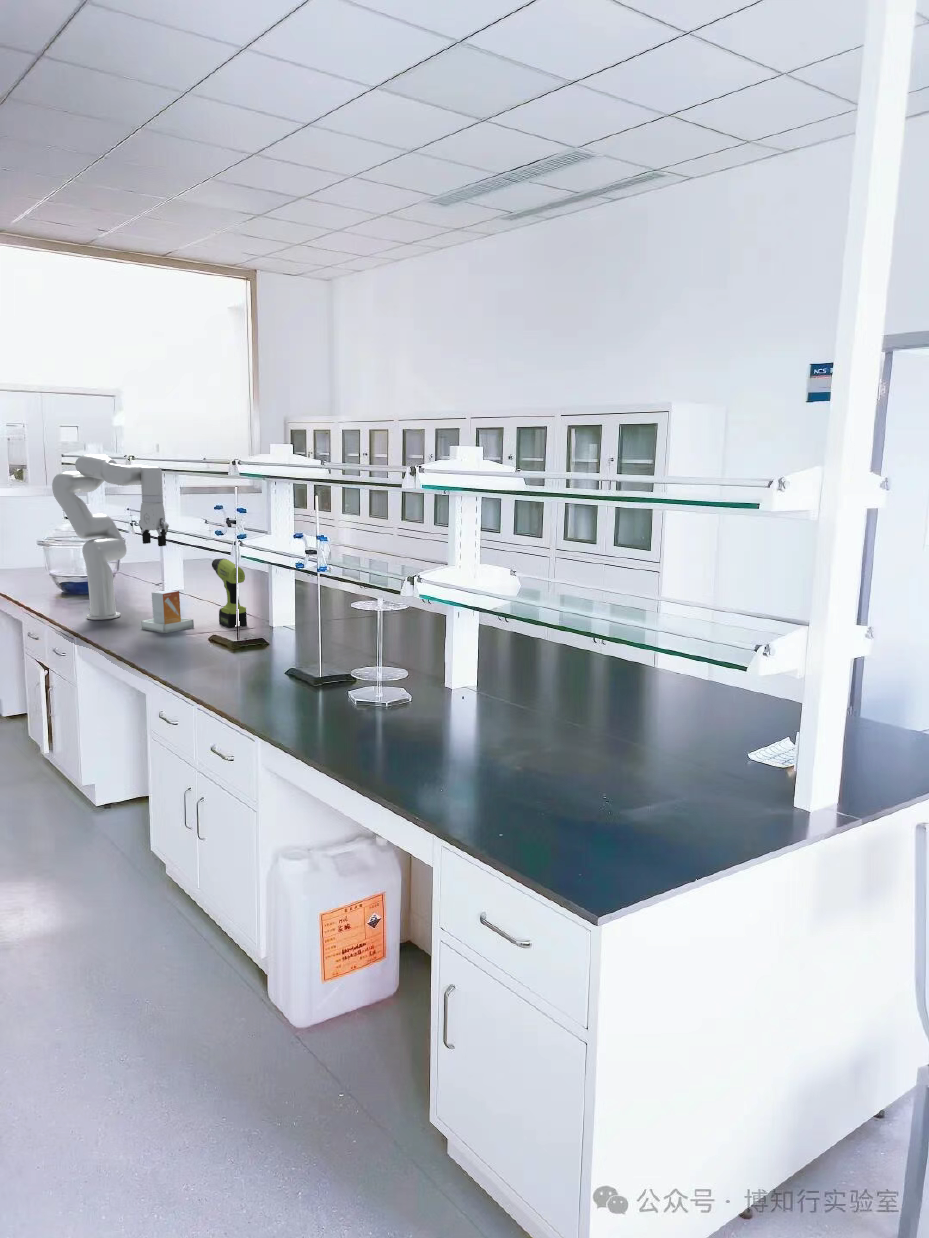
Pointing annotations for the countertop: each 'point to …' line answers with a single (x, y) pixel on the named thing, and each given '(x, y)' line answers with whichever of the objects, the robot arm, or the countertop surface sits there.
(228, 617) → the cordless drill
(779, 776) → the countertop surface
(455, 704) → the countertop surface
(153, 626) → the tray
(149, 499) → the robot arm
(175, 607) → the small box
